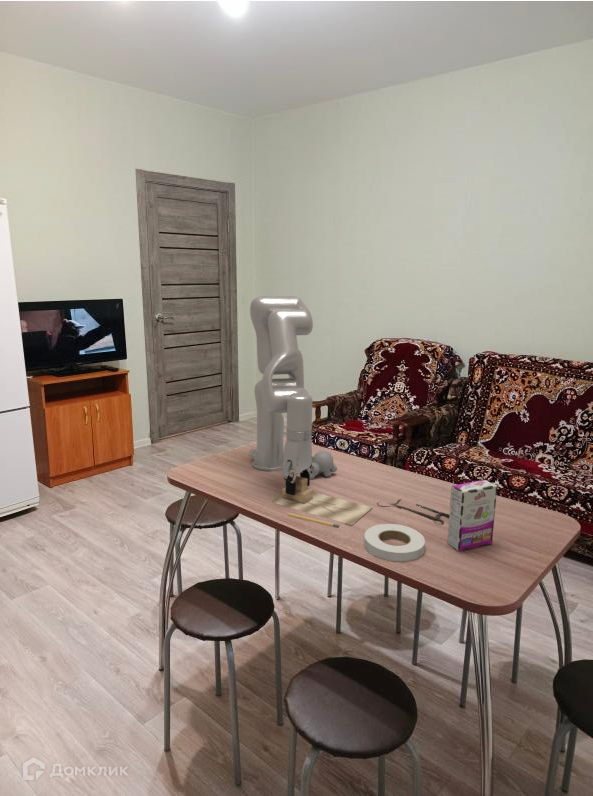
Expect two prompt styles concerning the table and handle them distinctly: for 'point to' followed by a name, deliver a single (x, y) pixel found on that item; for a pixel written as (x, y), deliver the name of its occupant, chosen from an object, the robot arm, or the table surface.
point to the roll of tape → (393, 552)
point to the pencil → (313, 520)
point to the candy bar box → (472, 515)
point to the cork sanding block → (299, 491)
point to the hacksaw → (422, 513)
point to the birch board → (328, 508)
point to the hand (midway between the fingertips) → (297, 489)
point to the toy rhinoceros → (322, 464)
